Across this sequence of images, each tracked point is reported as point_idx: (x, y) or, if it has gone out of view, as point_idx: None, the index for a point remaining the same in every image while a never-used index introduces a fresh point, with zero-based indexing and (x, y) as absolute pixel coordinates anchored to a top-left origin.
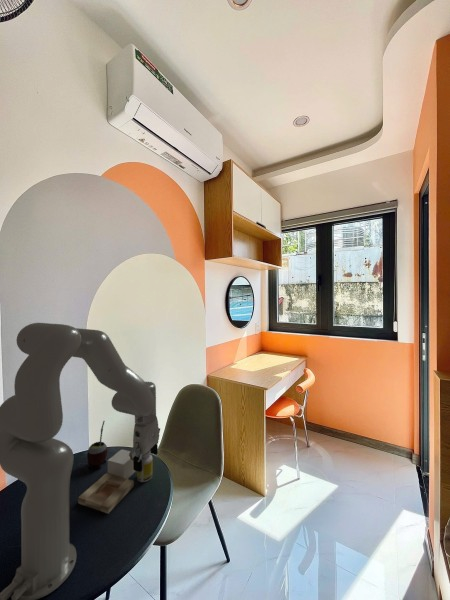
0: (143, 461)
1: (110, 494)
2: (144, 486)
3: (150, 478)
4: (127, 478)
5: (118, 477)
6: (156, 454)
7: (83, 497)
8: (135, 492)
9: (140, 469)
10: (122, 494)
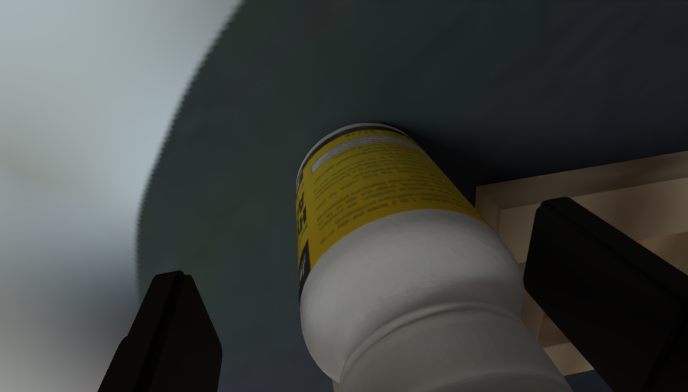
0: (520, 286)
1: None
2: (453, 108)
3: (366, 124)
4: None
5: None
6: (179, 275)
7: None
8: (530, 126)
9: (586, 217)
10: (624, 178)
